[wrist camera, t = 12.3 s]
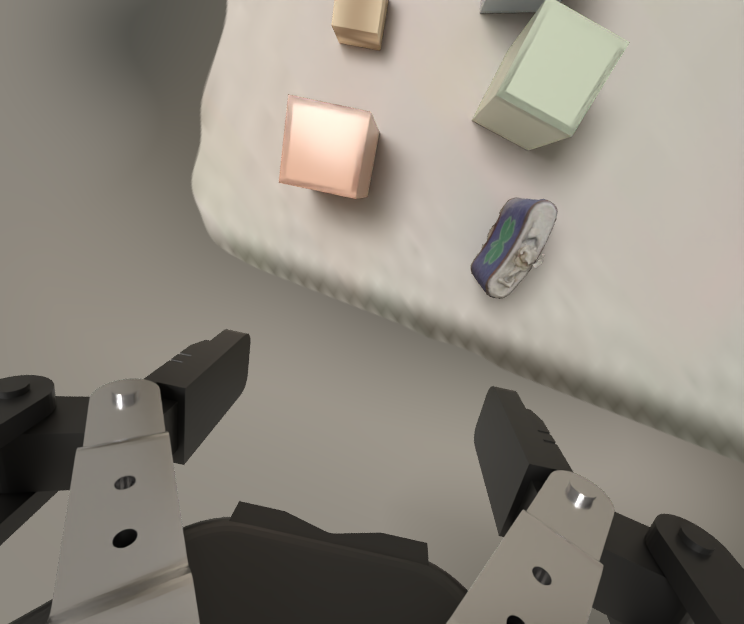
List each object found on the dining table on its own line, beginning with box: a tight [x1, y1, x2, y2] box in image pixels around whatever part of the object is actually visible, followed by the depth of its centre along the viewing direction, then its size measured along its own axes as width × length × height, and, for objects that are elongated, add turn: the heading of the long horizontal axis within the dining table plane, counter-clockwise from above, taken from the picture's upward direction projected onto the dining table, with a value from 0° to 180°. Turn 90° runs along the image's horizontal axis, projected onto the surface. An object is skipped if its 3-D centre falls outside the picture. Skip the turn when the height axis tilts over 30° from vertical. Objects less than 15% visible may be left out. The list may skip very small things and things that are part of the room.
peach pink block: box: [279, 94, 380, 199], centre depth 33 cm, size 6×6×10 cm
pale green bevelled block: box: [472, 0, 630, 151], centre depth 30 cm, size 6×6×10 cm
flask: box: [471, 198, 558, 299], centre depth 34 cm, size 9×3×11 cm, turn 155°
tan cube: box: [332, 0, 388, 50], centre depth 32 cm, size 4×4×4 cm
